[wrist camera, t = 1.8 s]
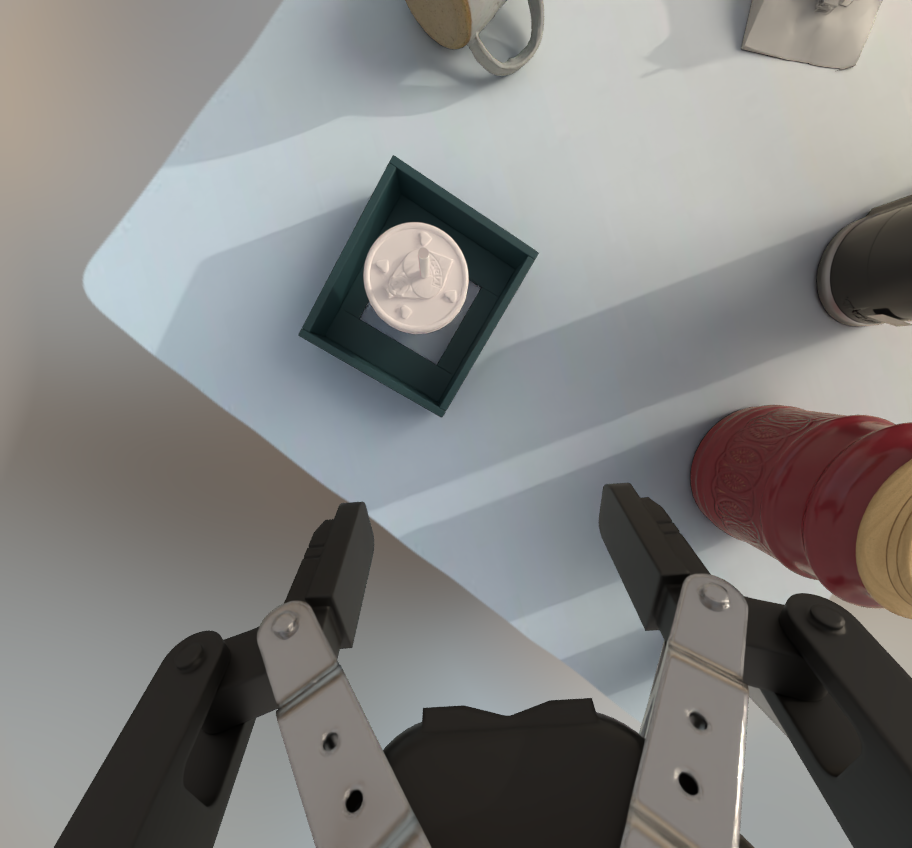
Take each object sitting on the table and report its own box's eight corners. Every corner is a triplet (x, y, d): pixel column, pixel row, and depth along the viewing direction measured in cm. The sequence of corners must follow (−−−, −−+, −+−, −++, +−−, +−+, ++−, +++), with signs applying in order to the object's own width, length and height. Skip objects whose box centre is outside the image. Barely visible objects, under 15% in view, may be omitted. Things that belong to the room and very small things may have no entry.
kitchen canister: (766, 552, 38) (1050, 711, 21) (661, 500, 36) (874, 626, 19) (838, 438, 36) (1209, 507, 19) (732, 379, 35) (1034, 395, 17)
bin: (398, 184, 30) (393, 154, 26) (524, 267, 32) (539, 252, 28) (316, 339, 32) (297, 335, 27) (440, 410, 33) (442, 417, 29)
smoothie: (470, 321, 32) (500, 291, 19) (403, 354, 32) (384, 348, 19) (437, 250, 31) (443, 161, 17) (369, 284, 31) (320, 222, 18)
